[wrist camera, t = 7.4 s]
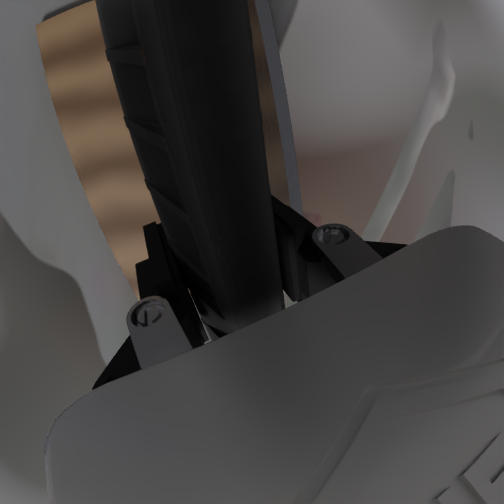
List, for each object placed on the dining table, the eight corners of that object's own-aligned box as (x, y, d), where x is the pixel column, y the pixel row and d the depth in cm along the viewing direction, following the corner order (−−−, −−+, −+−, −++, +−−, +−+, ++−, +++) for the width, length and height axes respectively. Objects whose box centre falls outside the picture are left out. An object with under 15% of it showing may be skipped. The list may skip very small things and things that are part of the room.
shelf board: (39, 28, 15) (35, 25, 14) (219, -24, 19) (224, -28, 18) (144, 304, 35) (145, 312, 34) (274, 250, 39) (279, 256, 38)
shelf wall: (207, -10, 19) (243, -46, 12) (217, -12, 19) (256, -46, 12) (263, 249, 36) (301, 293, 29) (270, 246, 36) (309, 289, 29)
